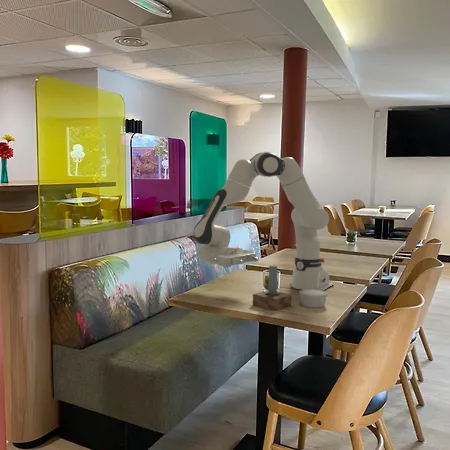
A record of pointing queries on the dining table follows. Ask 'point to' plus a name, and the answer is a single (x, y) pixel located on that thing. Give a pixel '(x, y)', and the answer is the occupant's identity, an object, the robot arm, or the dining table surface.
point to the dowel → (272, 281)
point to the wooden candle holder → (272, 300)
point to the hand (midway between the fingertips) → (250, 260)
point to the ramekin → (313, 298)
